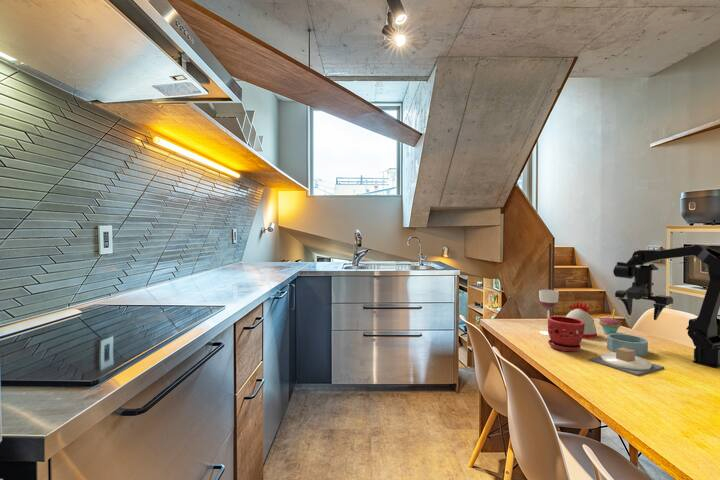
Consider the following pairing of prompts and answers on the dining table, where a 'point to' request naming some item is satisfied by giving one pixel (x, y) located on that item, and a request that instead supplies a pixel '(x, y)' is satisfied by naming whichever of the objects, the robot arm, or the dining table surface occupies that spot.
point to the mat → (634, 372)
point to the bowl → (627, 343)
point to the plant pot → (565, 333)
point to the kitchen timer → (582, 315)
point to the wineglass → (548, 302)
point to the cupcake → (610, 324)
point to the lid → (626, 359)
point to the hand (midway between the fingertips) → (642, 317)
